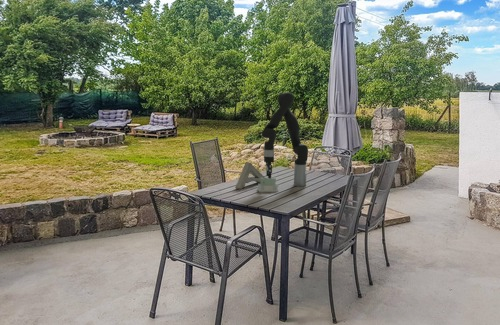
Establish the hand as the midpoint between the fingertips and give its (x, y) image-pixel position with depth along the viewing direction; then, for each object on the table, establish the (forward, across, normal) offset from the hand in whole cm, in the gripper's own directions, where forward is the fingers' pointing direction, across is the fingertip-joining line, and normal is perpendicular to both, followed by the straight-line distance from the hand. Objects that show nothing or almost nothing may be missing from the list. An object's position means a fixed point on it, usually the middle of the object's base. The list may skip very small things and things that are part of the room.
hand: (268, 177), depth 282 cm
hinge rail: (+10, 0, 0) cm, 10 cm away
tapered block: (+9, 0, 0) cm, 9 cm away
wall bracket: (+11, +18, +11) cm, 24 cm away
